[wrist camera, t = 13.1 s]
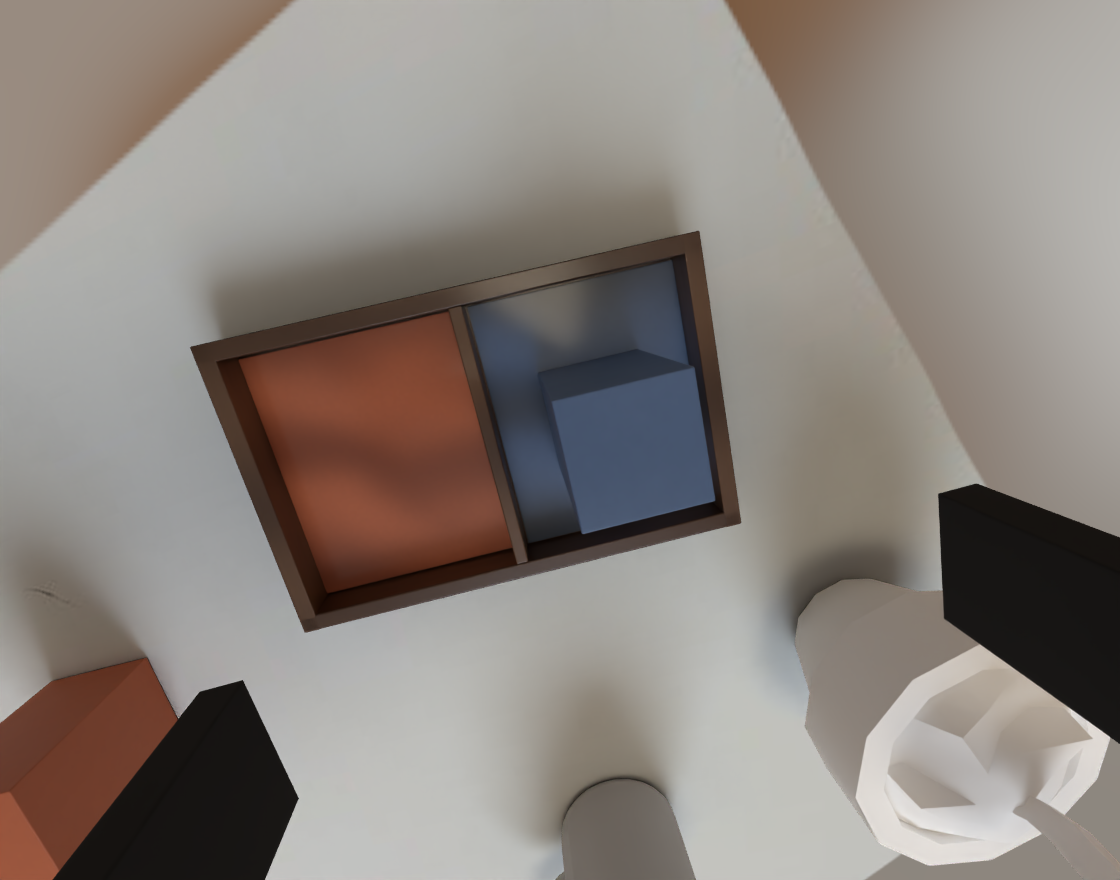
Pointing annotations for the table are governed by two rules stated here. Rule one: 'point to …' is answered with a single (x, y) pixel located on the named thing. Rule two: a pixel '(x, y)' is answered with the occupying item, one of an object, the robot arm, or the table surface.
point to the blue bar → (628, 437)
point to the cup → (623, 835)
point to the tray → (452, 428)
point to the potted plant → (942, 732)
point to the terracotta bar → (73, 761)
